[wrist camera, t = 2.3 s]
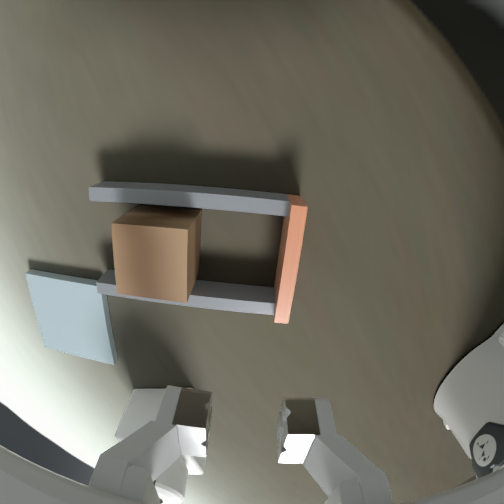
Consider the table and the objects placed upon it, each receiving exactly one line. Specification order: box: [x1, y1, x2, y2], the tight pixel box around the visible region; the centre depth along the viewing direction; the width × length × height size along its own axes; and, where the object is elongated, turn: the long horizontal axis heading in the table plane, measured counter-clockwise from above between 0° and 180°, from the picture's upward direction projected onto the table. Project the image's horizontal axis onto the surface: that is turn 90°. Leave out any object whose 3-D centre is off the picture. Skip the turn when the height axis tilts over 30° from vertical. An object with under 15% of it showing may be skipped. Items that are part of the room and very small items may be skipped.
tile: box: [26, 269, 118, 365], centre depth 26 cm, size 9×9×1 cm
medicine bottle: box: [115, 388, 210, 504], centre depth 25 cm, size 7×7×12 cm
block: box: [111, 205, 202, 303], centre depth 21 cm, size 5×5×5 cm
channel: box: [89, 181, 308, 323], centre depth 22 cm, size 15×8×4 cm, turn 84°
